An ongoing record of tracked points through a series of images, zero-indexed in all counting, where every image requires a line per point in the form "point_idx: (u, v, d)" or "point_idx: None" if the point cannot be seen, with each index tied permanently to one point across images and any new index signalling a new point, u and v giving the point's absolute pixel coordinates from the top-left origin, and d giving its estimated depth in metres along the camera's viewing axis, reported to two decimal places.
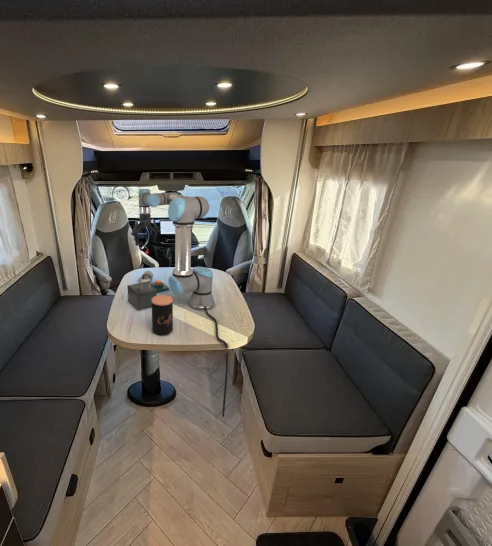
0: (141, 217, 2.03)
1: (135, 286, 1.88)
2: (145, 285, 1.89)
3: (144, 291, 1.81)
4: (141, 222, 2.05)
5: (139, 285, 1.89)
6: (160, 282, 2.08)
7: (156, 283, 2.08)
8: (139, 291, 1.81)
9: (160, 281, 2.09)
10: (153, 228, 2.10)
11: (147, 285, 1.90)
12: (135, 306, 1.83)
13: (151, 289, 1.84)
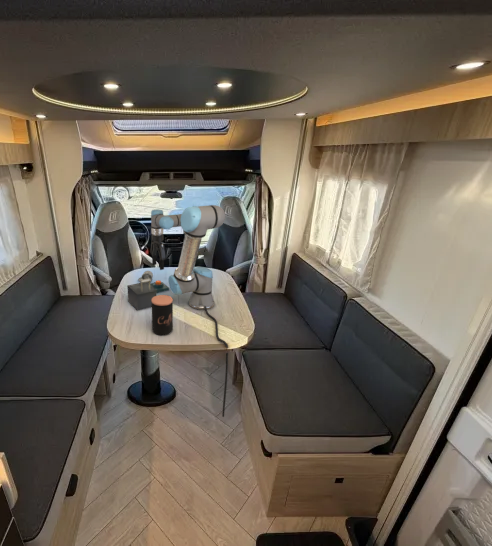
0: None
1: (135, 286, 1.88)
2: (145, 285, 1.89)
3: (144, 291, 1.81)
4: (153, 242, 2.02)
5: (139, 285, 1.89)
6: (160, 282, 2.08)
7: (156, 283, 2.08)
8: (139, 291, 1.81)
9: (160, 281, 2.09)
10: (159, 253, 1.97)
11: (147, 285, 1.90)
12: (135, 306, 1.83)
13: (151, 289, 1.84)
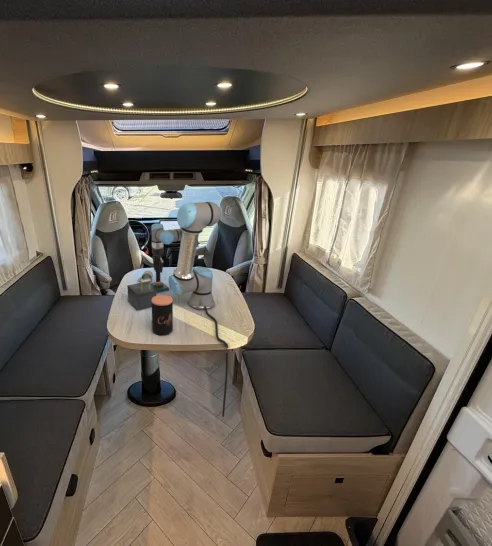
0: None
1: (135, 286, 1.88)
2: (145, 285, 1.89)
3: (144, 291, 1.81)
4: (154, 255, 2.05)
5: (139, 285, 1.89)
6: (160, 282, 2.08)
7: (156, 283, 2.08)
8: (139, 291, 1.81)
9: (160, 281, 2.09)
10: (157, 266, 2.03)
11: (147, 285, 1.90)
12: (135, 306, 1.83)
13: (151, 289, 1.84)
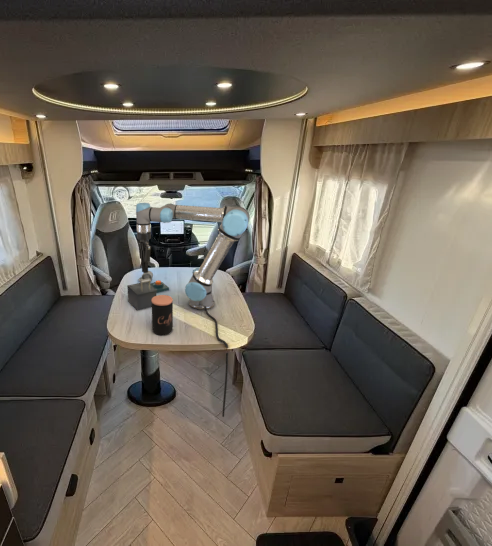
0: None
1: (135, 286, 1.88)
2: (145, 285, 1.89)
3: (144, 291, 1.81)
4: (140, 240, 1.73)
5: (139, 285, 1.89)
6: (160, 282, 2.08)
7: (156, 283, 2.08)
8: (139, 291, 1.81)
9: (160, 281, 2.09)
10: (144, 254, 1.71)
11: (147, 285, 1.90)
12: (135, 306, 1.83)
13: (151, 289, 1.84)
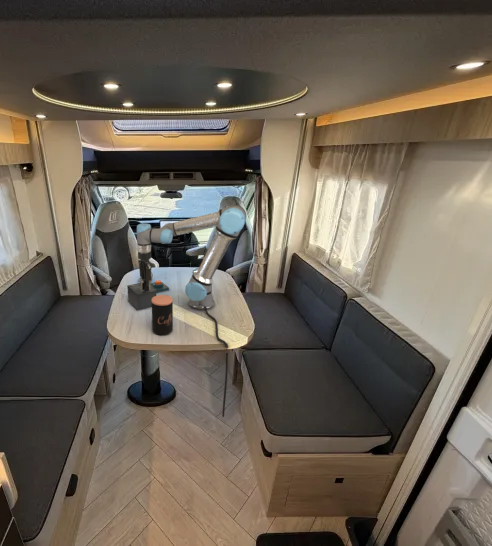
0: None
1: (135, 286, 1.88)
2: None
3: (144, 291, 1.81)
4: (140, 260, 1.77)
5: (139, 285, 1.89)
6: (160, 282, 2.08)
7: (156, 283, 2.08)
8: (139, 291, 1.81)
9: (160, 281, 2.09)
10: (144, 273, 1.75)
11: None
12: (135, 306, 1.83)
13: (151, 289, 1.84)
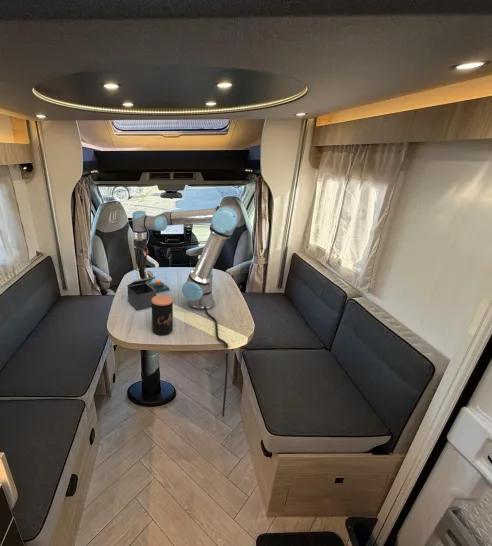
0: None
1: (134, 283, 1.88)
2: (144, 280, 1.89)
3: None
4: (136, 247, 1.79)
5: (138, 282, 1.89)
6: (160, 282, 2.08)
7: (156, 283, 2.08)
8: None
9: (160, 281, 2.09)
10: (140, 261, 1.77)
11: (146, 280, 1.89)
12: (135, 306, 1.83)
13: (149, 278, 1.83)
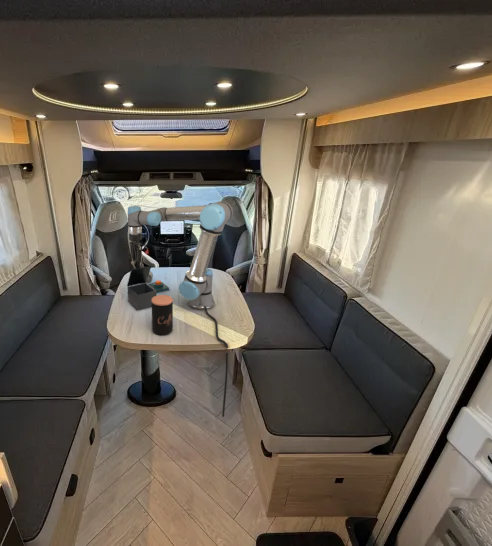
0: None
1: None
2: None
3: None
4: (131, 241, 1.84)
5: None
6: (160, 282, 2.08)
7: (156, 283, 2.08)
8: None
9: (160, 281, 2.09)
10: (135, 254, 1.82)
11: None
12: (135, 306, 1.83)
13: None
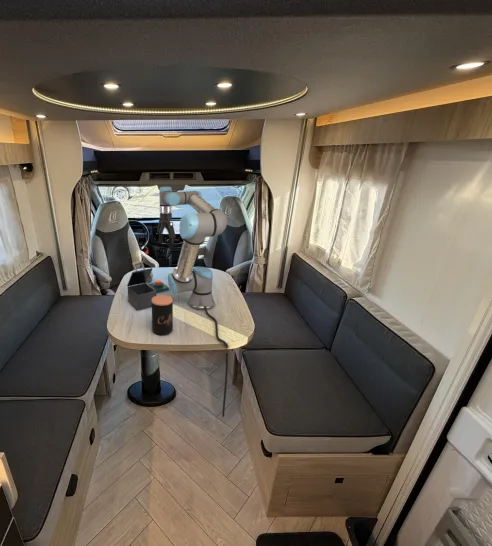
0: None
1: None
2: None
3: None
4: (162, 221, 1.95)
5: None
6: (160, 282, 2.08)
7: (156, 283, 2.08)
8: None
9: (160, 281, 2.09)
10: (168, 231, 1.90)
11: None
12: (135, 306, 1.83)
13: None
